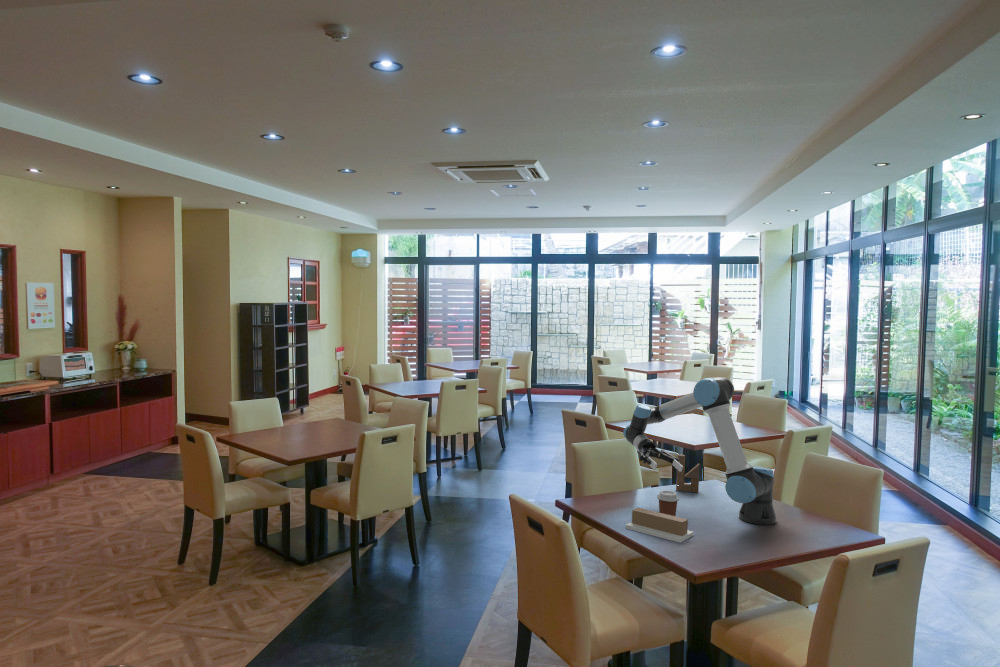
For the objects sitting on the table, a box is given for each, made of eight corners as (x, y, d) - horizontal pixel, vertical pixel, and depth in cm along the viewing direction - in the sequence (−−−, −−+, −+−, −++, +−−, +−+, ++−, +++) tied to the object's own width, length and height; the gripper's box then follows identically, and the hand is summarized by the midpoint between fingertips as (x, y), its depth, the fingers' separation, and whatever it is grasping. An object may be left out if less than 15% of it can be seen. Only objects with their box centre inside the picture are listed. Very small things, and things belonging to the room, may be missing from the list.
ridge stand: (693, 535, 260) (693, 518, 260) (680, 542, 251) (681, 524, 251) (639, 521, 276) (639, 505, 276) (625, 528, 267) (625, 511, 266)
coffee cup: (651, 518, 280) (652, 491, 280) (668, 516, 285) (669, 489, 284) (666, 525, 272) (667, 496, 272) (682, 522, 276) (683, 494, 276)
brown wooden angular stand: (698, 492, 324) (699, 457, 324) (676, 490, 327) (677, 455, 326) (698, 491, 328) (699, 455, 327) (676, 489, 330) (677, 454, 330)
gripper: (664, 455, 309) (689, 477, 290) (619, 450, 300) (642, 473, 281) (669, 440, 307) (694, 462, 288) (624, 436, 298) (647, 458, 279)
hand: (668, 468), depth 284 cm, fingers open, 13 cm apart
